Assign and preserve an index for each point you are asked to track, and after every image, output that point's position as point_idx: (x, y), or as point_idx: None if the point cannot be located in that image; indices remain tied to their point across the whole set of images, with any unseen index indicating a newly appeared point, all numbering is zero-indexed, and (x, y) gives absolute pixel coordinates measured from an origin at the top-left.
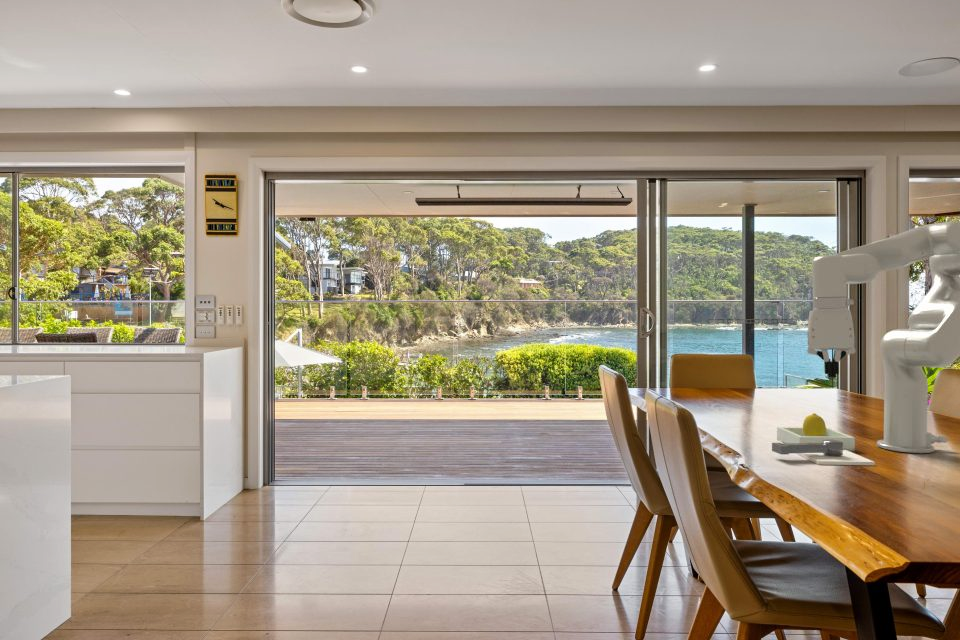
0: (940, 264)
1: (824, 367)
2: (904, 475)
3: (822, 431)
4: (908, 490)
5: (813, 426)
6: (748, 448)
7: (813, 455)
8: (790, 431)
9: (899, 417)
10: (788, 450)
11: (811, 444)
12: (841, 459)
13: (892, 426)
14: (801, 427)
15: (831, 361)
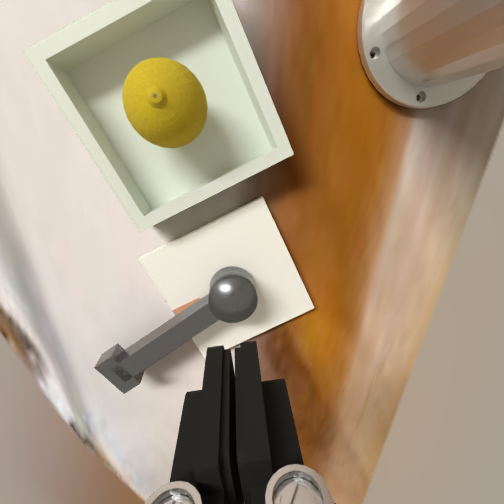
0: None
1: (179, 430)
2: (350, 357)
3: (198, 135)
4: (335, 443)
5: (166, 146)
6: (25, 267)
7: None
8: (94, 139)
9: (485, 55)
10: (141, 376)
11: (185, 338)
12: (250, 319)
13: (435, 51)
14: (111, 6)
15: (243, 479)
